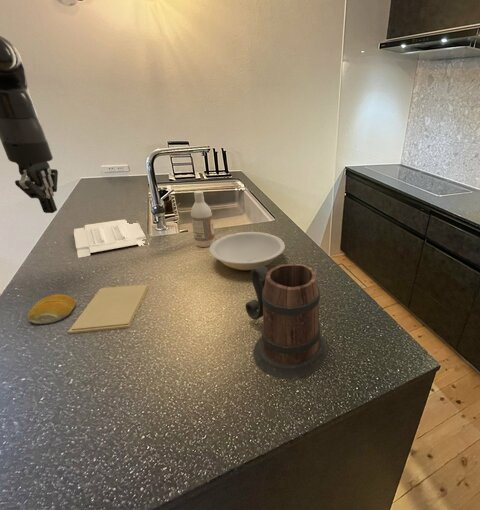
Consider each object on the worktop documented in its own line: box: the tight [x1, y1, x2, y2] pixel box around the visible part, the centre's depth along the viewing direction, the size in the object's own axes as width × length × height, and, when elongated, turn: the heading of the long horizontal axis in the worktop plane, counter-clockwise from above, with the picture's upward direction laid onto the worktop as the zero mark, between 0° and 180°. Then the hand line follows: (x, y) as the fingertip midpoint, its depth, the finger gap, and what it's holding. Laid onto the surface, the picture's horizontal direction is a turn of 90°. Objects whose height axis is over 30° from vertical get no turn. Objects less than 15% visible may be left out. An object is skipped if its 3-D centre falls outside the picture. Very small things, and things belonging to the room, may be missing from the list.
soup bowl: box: [209, 231, 286, 271], centre depth 103 cm, size 24×24×7 cm
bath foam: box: [190, 190, 216, 248], centre depth 110 cm, size 7×7×20 cm
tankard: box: [245, 263, 329, 380], centre depth 68 cm, size 24×17×20 cm
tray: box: [73, 219, 150, 259], centre depth 114 cm, size 20×28×4 cm
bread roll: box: [27, 293, 77, 325], centre depth 74 cm, size 8×9×4 cm
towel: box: [67, 284, 150, 335], centre depth 78 cm, size 12×18×1 cm, turn 15°
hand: (50, 211), depth 77 cm, fingers closed
